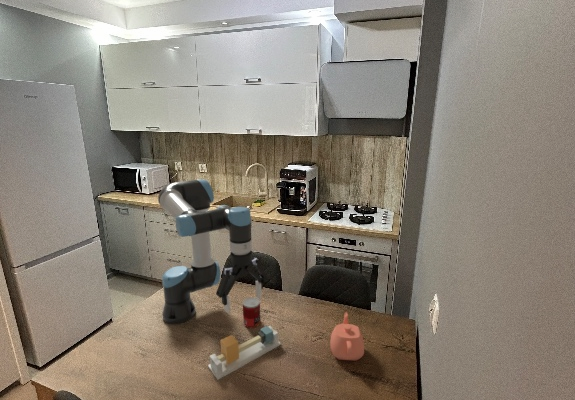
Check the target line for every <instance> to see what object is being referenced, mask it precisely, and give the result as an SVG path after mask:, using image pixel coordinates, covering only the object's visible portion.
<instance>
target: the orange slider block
mask: <svg viewBox="0 0 575 400" xmlns="http://www.w3.org/2000/svg"><path fill="white" fill-rule="evenodd" d="M219 343H220V352H221V353H220V355H221V354H223V353H224V354H225V356H226V363H227V365H228V364H230V363H231V362H233V361H235V360H237V359H239V346H238V345H239V340H238V339H237V338H236V337H235V336H234V335H233V334H231V335H229V336H226V337H224V338H222V339H220V340H219Z"/></svg>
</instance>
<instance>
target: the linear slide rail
mask: <svg viewBox="0 0 575 400" xmlns="http://www.w3.org/2000/svg"><path fill="white" fill-rule="evenodd" d="M281 344H282V343H281V342H280V340H279V332H278V331H277V330H275V329H274V328H273V326H271V325H265V326H264V327H262V328H260V329H259V331H258V332H257V335H256V336H253V337H252V338H250V339H249V340H246V341H245V342H242V343H240V344H238V346H239V359H237V360H235V361H233V362H231V363H230V364H228V365H227V363H226V356H225V354H224V353H223V354H221V353H220V354H219V355H217V354H216V353H212V354H211V355H209V364H208V365H207V367H208V369H209V370H210V371H211V373H212V374H213V376H214V378H215V379H216V380H221V379H223V378H224V377H225V376H227V375H229V374H231V373H233V372H235V371H236V370H238V369H240V368H243V366H246V365H247V364H249V363H251V362H253V361H254V360H256V359H258V358H260V357H261V356H263V355H265V354H266V353H268V352H270V351H273V350H274V349H276V348H277V347H279V346H281Z"/></svg>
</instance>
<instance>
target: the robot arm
mask: <svg viewBox="0 0 575 400" xmlns="http://www.w3.org/2000/svg"><path fill="white" fill-rule="evenodd" d="M213 190H214V189H213V188H212V186H211V183H210V182H209V181H208V180H207V179H203V178H202V179H192V180H191V179H190V180H185V181H184V180H183V181H177V182H176V181H175V182H171V183H169V184H167V185H165V186H164V187H163V188H162V189H161V190H160V192H159V193H158V199H157V201H158V203H159V204H158V205H160V207H161V208H162V210H164V211H166V212H168V213H169V214H170V215H171V216H172V217H173V218H174V219H175V229H176V232H177V234H178V236H179V237H180V238H181V237H182V238H184V237H185V238H186V237H191V246H192V256H193V260H192V261H191V262H190V267H187V266H185V265H181V266H180V265H178V266H173V267H170V268H169V269H167V270H166V271H165V272H164V273H163V275H162V278H161V279H162V282H161V283H162V287H163V296H164V305H163V310H162V320H163V321H164V322H165V323H167V324H170V325H171V324H172V325H177V324H178V325H179V324H182V323H185V322H187V321H189V320H191V319H192V318H193V317H194V316H195V315H196V306H195V303H194V302H193V300H192V297H191V293H195V292H197V291H201V290H205V289H208V288H211V287H214V286H217V285H218V286H217V290H216V292H215V295H216V296H217V297H219V298H220V299H221V303H222V305H223V306H224V307H223V308H224V311H225V312H226V313H227V314H231V300H230V295H229V294H230V292H231V291H232V289H233V287H234V285H235V283H236V282H237V281H238V280H239V278H243V277H244V276H247V275H248V274H250V275H251V276H252V277H253V278H254V279H256V280H255V298H257V299H258V300H261V299H262V296H263V295H262V290H263V289H264V287H263V286H264V283H265V281H266V280H267V279H268V276H267V274H266V272H265V271H264V269H263V267H262V265H261V263H260V259H259V258H257V257H256V256H255V257H253V251H252V250H253V248H252V247H253V242H252V216H251V210H250V209H249V208H248V207H247V206H245V207H244V206H234V207H232V206H229V205H226V204H223V205H222V204H221V205H219V206H218V207H216V208H215V209H211V204H212V203H214V200H215V196H214V195H215V194H214V191H213ZM210 209H211V210H210ZM223 229H224V230H225V229H226V230H227V231H229V251H230V263H231V265H230V266H231V267H223V269H222V276H221V269H220V264H219V262H218V261H216V259H215V258H214V257H212V248H211V247H212V246H211V238H210V237H211V236H210V235H211V234H210V232H215V231H221V230H223ZM253 265H254V267H255V269H256V270H257V273H258V274H257V273H256V272H255V270H253V269H252V267H253Z"/></svg>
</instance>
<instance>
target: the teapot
mask: <svg viewBox="0 0 575 400" xmlns="http://www.w3.org/2000/svg"><path fill="white" fill-rule="evenodd" d="M343 315H344V316H343V321H342V323H338V324H336V325H335V327H334V328H333V330H332V332H331V334H330V342H329V347H330V351H331V353H332V354H333V356H334V358H336V359H337V360H339V361H341V360H343V361H353V362H356V361H358V360H360V359H361V358H362V357H363V356H364V354H365V343H364V338H363V335H362V332H361V330H360V328H359V326H358V325H355V324H350V321H349V314H348V312H347V311H346V312H344V314H343Z"/></svg>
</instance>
